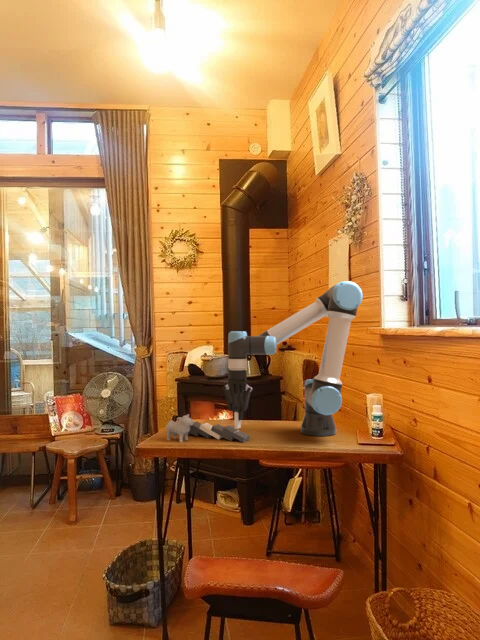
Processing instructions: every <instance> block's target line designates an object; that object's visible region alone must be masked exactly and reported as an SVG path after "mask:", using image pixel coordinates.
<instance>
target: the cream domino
mask: <svg viewBox="0 0 480 640" xmlns="http://www.w3.org/2000/svg"><path fill="white" fill-rule="evenodd" d="M212 426H213V425H212V424H211V423H209V422H205V423H201V425H200V428H199V429H201V430H203V431H204V432H206V433H208V434H210V435H211V436H213V438H215V439H217V440H222V439H224V437H222V436H220V435H219V434H217V433H215V432H213V431H211V428H212ZM221 438H222V439H221Z"/></svg>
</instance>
